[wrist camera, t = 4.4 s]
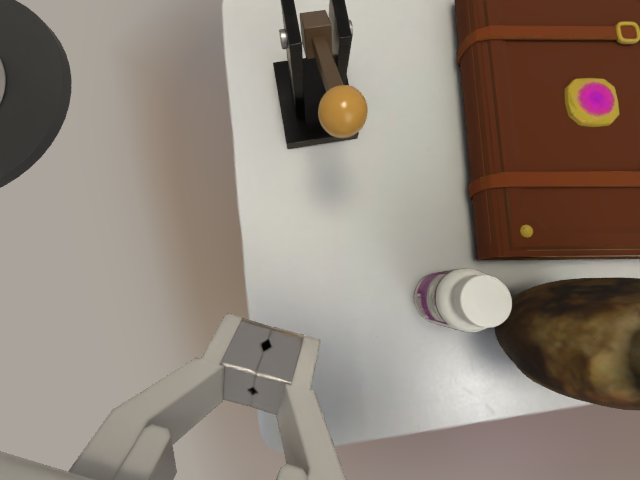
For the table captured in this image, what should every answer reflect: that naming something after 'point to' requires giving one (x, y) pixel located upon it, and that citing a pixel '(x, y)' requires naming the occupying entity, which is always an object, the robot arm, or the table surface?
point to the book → (552, 126)
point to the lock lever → (331, 79)
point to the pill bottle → (463, 300)
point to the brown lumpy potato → (579, 339)
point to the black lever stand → (308, 76)
